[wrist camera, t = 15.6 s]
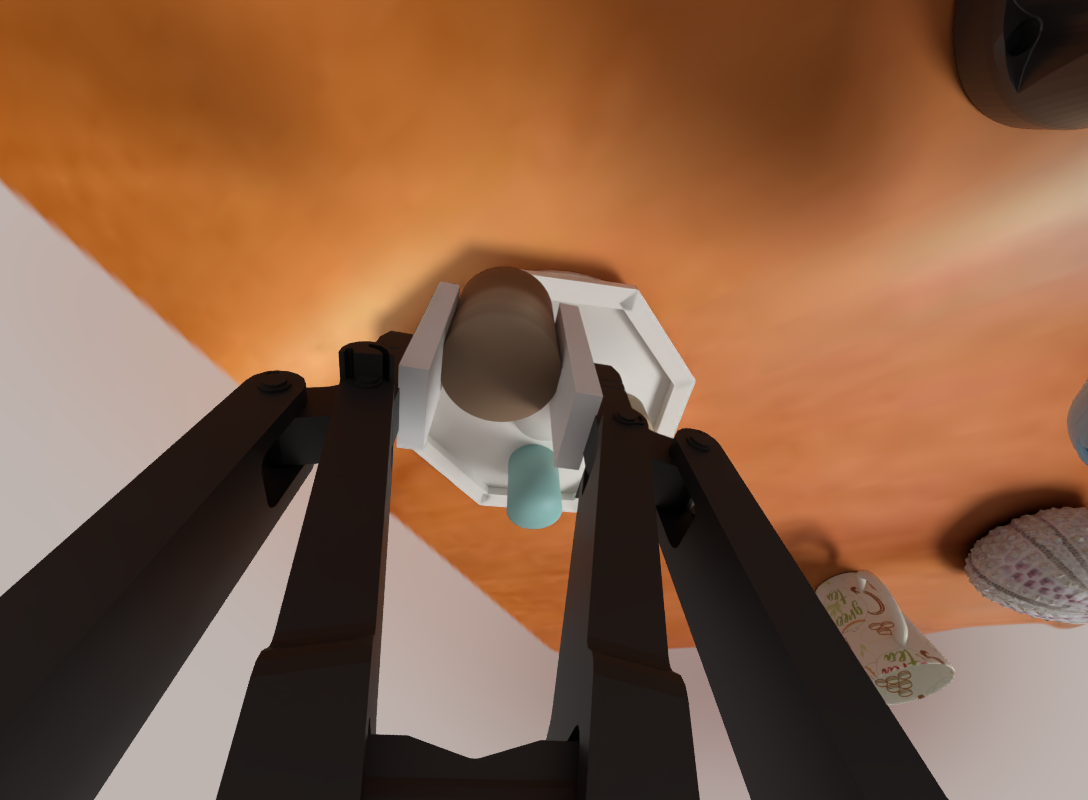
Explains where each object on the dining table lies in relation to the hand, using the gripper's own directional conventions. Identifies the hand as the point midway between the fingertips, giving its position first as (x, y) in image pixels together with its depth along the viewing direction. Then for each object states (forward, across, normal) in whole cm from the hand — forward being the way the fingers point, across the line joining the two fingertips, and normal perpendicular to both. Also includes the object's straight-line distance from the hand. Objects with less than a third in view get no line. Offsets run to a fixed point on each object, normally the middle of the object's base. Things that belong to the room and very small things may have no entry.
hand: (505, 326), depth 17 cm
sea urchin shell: (+12, +57, -19) cm, 61 cm away
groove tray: (+12, +4, -11) cm, 16 cm away
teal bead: (+11, +4, -16) cm, 20 cm away
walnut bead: (+1, 0, 0) cm, 1 cm away
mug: (+12, +41, -28) cm, 51 cm away
